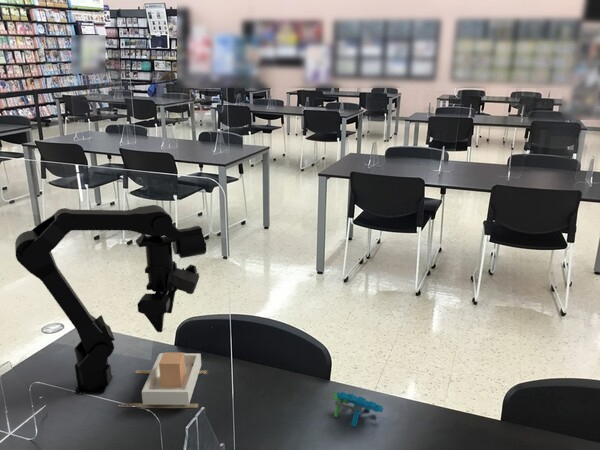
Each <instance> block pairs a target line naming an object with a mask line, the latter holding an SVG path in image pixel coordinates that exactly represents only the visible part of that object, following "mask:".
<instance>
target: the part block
mask: <svg viewBox="0 0 600 450" xmlns="http://www.w3.org/2000/svg"><path fill="white" fill-rule="evenodd" d="M163 353H164V354H163V356H162V358H161V360H160V363H159V370H160V381H161V387H182V384H183V381H184V378H185V375H186V374H185V360H184V353H185V352H169V351H168V352H165V351H164V352H163Z"/></svg>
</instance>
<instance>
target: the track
mask: <svg viewBox="0 0 600 450" xmlns="http://www.w3.org/2000/svg"><path fill="white" fill-rule="evenodd" d="M151 371H152V369H150V370H149V369H145V370H144V369H141V370H140V369H136V371H135V375H150V373H151ZM207 371H208V370H200V371H199V374H198V375H208V372H207ZM206 372H207V373H206ZM202 373H203V374H202ZM119 404H122V406H121V407H125V406H124V405H128V406H127V407H129V406H135V407H141V408H140V409H145V408H146V409H198V408H199V403H189V405H143V402H140V403H139V402H138V403H136V402H134V403H131V402H130V403H128V402H126V403H124V402H123V403H122V402H120V403H119ZM119 404H118V406H119V407H120V405H119Z"/></svg>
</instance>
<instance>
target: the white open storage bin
mask: <svg viewBox="0 0 600 450" xmlns="http://www.w3.org/2000/svg"><path fill="white" fill-rule="evenodd" d="M183 353H184V360H185V374H186V375H185V378H184V381H183V384H182V387H161V381H160V370H159V363H160V360H161V358H162V356H163V354H164V352H162V353H159V354H158V355H157V358H156V360H155V362H154V364H153V367H152V369H151V370H152V371H151V373H150V374H148V377H147V379H146V381H145V384H144V386H143V387H142V390H141V398H142V399H141V400H142V403H143V405H189V404H191V399H192V397H193V393H194V390H195V387H196V384H197V381H198V377H199V375H200V374H199V371H201V367H202V356H201V355H202V354H201V353H187V352H183Z"/></svg>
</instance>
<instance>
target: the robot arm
mask: <svg viewBox="0 0 600 450" xmlns="http://www.w3.org/2000/svg"><path fill="white" fill-rule="evenodd" d="M72 231H128V232H133V233H134V232H135V233H138V234H141V235H140V236H138V237H137V238H136V240H135V244H136V245H137V246H138V247H139V248H144V247H145V255H146V267H145V268H144V273H145V274H147V279H148V283H147V284H146V285H145V286H146V290H147V291H152V292H154V293H149V292H148V293H144V295H142V296H141V298H140V300H139V301H138V303H137V312H138V313H139V314H141V315H142V314H143V315H144V316H145V317H146V318H147V319H148V321H149V322H150V324H151V325H152V327H153V328H154V329H155V331H156V332H157V333H162V332H163V329H164V320H165V319H164V318H165V314H172V312H173V308H174V303H175V296H176V292H177V291H181V292H185V293H186V294H189V295H192V294H193V295H194V293H195V290H196V289H197V285H198V283H199V279H200V275H199V274H200V273H199V272H198V270H197V266H196V265H193V264H192V263H191V264H189V265H188V266H187V267H185V268H184V267H182V268H178V265H177V264H178V263H177V262H176V260H173V259H174V257H173V254H175V256H176V255H178V257H179V258H180V259H183V258H184V259H185V258H190V257H196V256H202V255H205V254H206V253H207V243H206V239H205V237H204V234H203V228H202V227H201V226H200V225H195V226H192V227H187V228H180V229H178V227H177V226H176V225H175V224H173V219H172V216H171V215H170V214H169V213H168V212H167V211H166V210H165V209H164V208H163V207H162V206H159V204H158V205H157V204H151V205H143V206H139V207H138V206H137V207H136V208H133V209H126V210H125V209H123V210H122V209H121V210H120V209H119V210H118V209H114V210H113V209H110V210H109V209H71V208H67V207H65V208H60V209H58V210H56V211H55V212H54V214H53V213H52V215H51V216H50V217H48V218H46V219H45V220H43V221H42V222H40V223H38V224H37V225H35V227H33V229H31V230H27V231H24V232H21V233H20V234H19V235H18V236H17V238H16V239H15V243H14V246H15V248H14V249H15V253H14V254H15V259H16V260H17V262H18V263H19V264H20V265H21V266H22V267H23V268H24V269H26V270H27V272H29V273H30V274H32V275H33V276H34V277H36V278H37V279H38V280H40V281H41V282H42V284H43V285H44V286H45V288H46V289H47V291H48V292H49V294H50V295H51V296H52V297H53V299H54V300H55V302H56V303H57V304H58V306H59V307H60V309H61V310H62V311H63V312H64V314H65V315H66V317H67V319H68V320H69V321H70V322H71V324H72V325H73V326H74V328H75V329H76V331H77V334H78V336H79V339H80V341H79V342H78V344H77V345H76V346H75V347H74V348H73V349H74V353H75V354H74V355H75V357H76V358H75V359H76V363H75V364H74V369H75V370H74V371H75V377H76V384H77V387H76V388H75V390H74V394H90V395H91V394H99V395H100V394H104V393H105V392H106V391H107V389H108V387H109V386H110V384H111V382H112V380H113V376H114V375H112V368H111V367H112V366H111V364H109V361H108V358H109V357H111V355H112V354H113V353H114V349H115V344H114V342H113V341H115V336H114V335H113V331H112V329H111V326H110V325H109V324H107V323H106V321H105V320H104V318H103V315H102V314H101V315H99V316H98V317H95V316H93V315H92V314H91V313H90V312H89V310H88V309H87V308H86V306H85V304H84V303H83V302H82V300H81V299H80V297H79V296H78V295H77V293H76V292H75V290H74V289H73V288H72V286H71V285H70V283H69V282H68V280H67V278H66V277H65V276H64V274H63V273H62V272H61V270H60V269H59V267H58V266H57V263H56V260H55V258H54V255H53V252H52V251H53V250H54V249H55V248H56V247H57V246H58V245H59V243H61V241H63V239H64V238H65V237H66V236H67V235H68V234H69V233H70V232H72Z"/></svg>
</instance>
